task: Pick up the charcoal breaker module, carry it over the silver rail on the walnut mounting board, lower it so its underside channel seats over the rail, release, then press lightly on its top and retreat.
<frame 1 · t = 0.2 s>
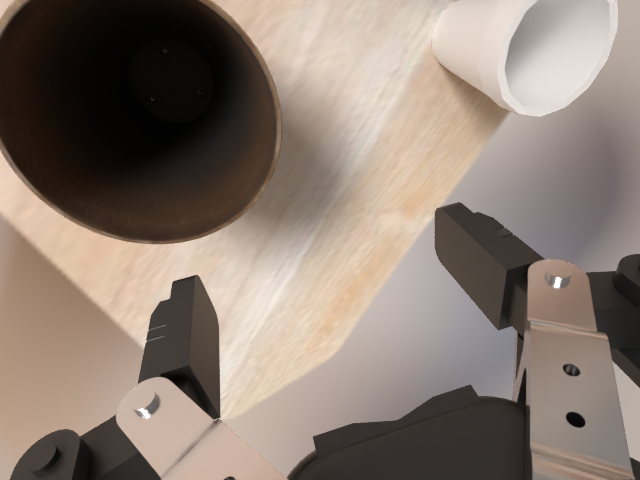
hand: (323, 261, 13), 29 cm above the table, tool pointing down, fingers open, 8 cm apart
foam cup: (459, 34, 38), on the table
plant pot: (173, 79, 34), on the table
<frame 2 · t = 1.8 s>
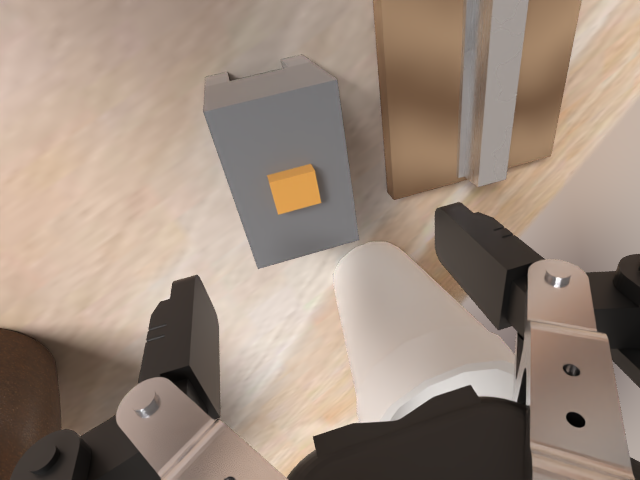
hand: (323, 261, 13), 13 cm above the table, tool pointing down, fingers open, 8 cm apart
foam cup: (369, 272, 31), on the table
module: (271, 135, 23), on the table
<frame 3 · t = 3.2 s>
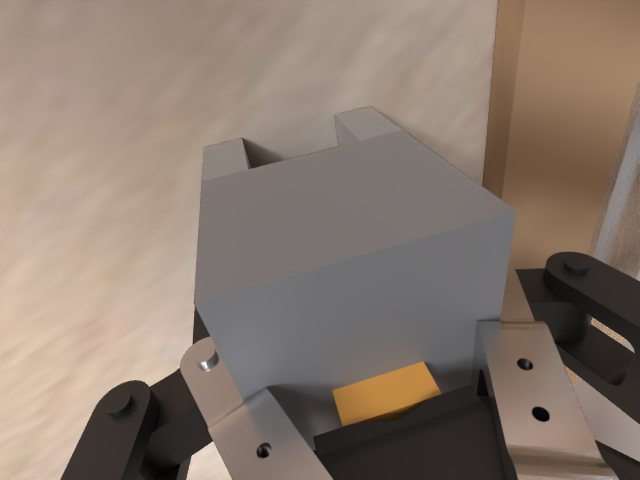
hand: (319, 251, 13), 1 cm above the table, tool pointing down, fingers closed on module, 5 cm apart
module: (311, 230, 14), on the table, touching gripper
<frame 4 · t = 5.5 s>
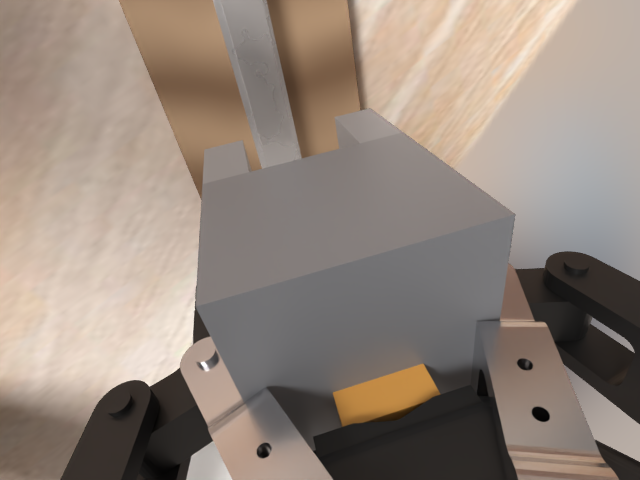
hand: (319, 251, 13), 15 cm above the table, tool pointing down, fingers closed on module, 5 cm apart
foam cup: (231, 323, 35), on the table
module: (312, 232, 14), point 14 cm above the table, touching gripper
rail: (260, 79, 22), on the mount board, point 2 cm above the table
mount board: (257, 72, 24), on the table
when the fingers open (3 cm above the table, at t = 7.6 s): module stays where it is, resting on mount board.
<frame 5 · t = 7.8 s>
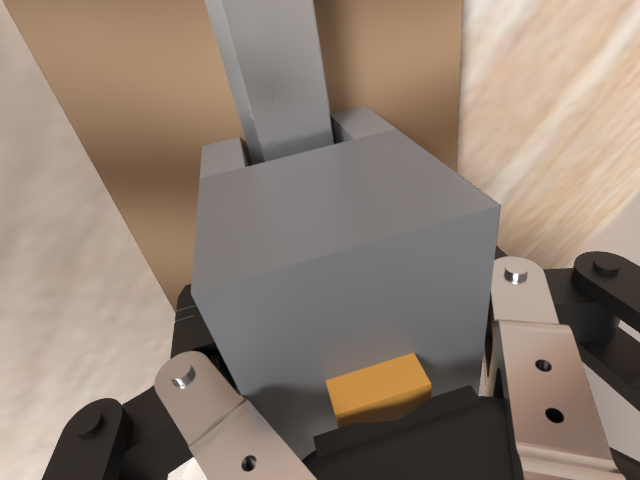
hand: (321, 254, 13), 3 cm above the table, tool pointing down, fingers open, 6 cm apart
foam cup: (234, 465, 25), on the table
module: (308, 227, 14), point 1 cm above the table, touching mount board
rail: (298, 164, 12), on the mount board, point 2 cm above the table
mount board: (287, 142, 14), on the table
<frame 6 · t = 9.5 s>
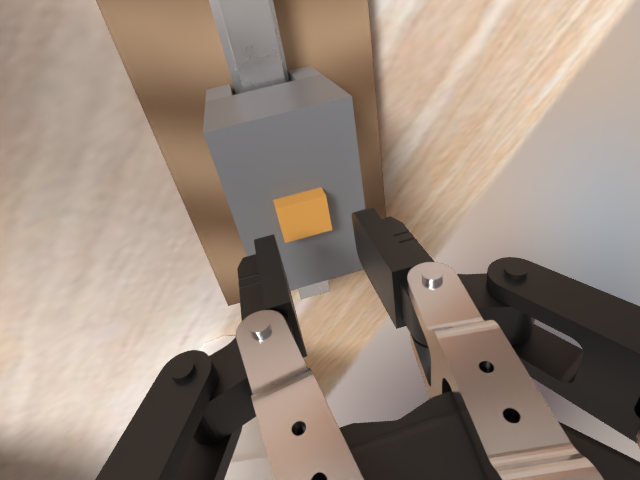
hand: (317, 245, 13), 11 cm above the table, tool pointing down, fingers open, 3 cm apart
foam cup: (230, 360, 32), on the table
module: (277, 151, 21), point 1 cm above the table, touching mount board
rail: (267, 101, 19), on the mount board, point 2 cm above the table
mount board: (262, 92, 21), on the table
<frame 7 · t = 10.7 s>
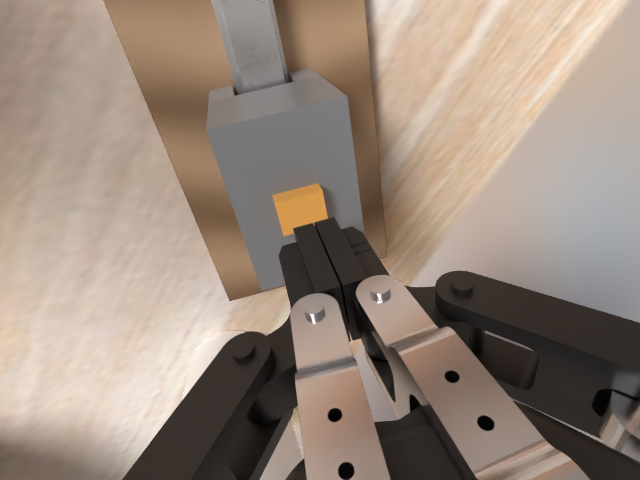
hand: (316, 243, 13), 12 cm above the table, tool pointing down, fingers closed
foam cup: (231, 355, 32), on the table
module: (277, 150, 22), point 1 cm above the table, touching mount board
rail: (267, 101, 20), on the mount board, point 2 cm above the table
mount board: (263, 93, 22), on the table
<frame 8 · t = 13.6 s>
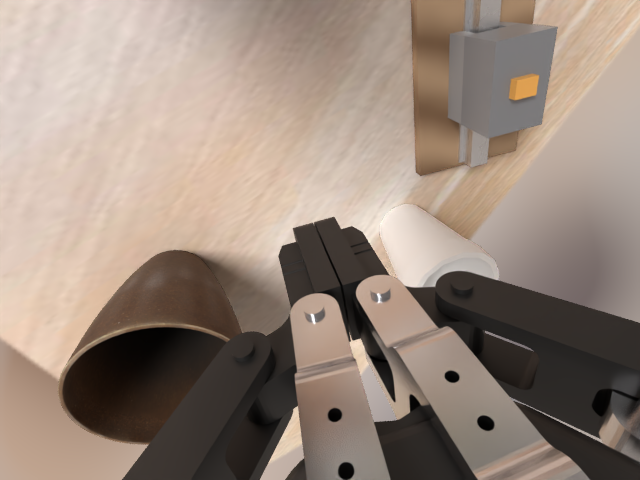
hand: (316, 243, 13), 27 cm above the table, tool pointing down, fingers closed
foam cup: (401, 224, 48), on the table
module: (473, 72, 38), point 1 cm above the table, touching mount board
rail: (481, 39, 36), on the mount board, point 2 cm above the table
plant pot: (177, 273, 45), on the table
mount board: (469, 37, 38), on the table
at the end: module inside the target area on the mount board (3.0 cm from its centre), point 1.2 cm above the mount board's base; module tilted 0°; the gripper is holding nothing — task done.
